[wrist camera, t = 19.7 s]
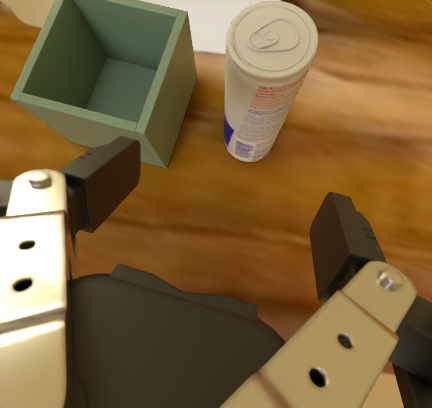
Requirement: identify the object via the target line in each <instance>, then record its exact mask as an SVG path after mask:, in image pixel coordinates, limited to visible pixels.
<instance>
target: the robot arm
mask: <svg viewBox="0 0 432 408" xmlns="http://www.w3.org/2000/svg"><path fill="white" fill-rule="evenodd" d="M140 160H141V145H140V142H139V141H138V140H135V139H131V138H127V137H123V136H119V137H118V138H116V139H115V140H113V141H112V142H110V143H109V144H104V145H101V146H97V147H94V148H93V149H91V150H89V151H88V152H86V154H83V155H81V156H80V157H79V158H77V159H75V160H74V161H72V162H70V163H69V164H67V165H66V166H64V167H62V168H61V169H59V170H58V171H55V170H48V169H40V170H33V171H28V172H26V173H23V174H21V175H19V176H18V177H16V178H15V180H14V181H8V180H0V408H362V406H363V404H364V402H365V400H366V399H367V397H368V395H369V393H370V391H371V389H372V387H373V386H374V384H375V382H376V380H377V379H378V377H379V375H380V373H381V371H382V370H383V368H384V366H385V364H386V362H387V361H388V360H389V361H391V362H392V365H393V369H394V372H395V376H396V380H397V383H398V387H399V391H400V394H401V398H402V402H403V405H404V408H432V303H431V302H429V301H427V300H425V299H423V298H421V297H419V296H417V292H416V288H415V286H414V284H413V283H412V281H411V280H410V279H409V278H408V277H407V276H406V275H405V274H404V273H403V272H401V271H400V270H399V269H397V268H395V267H394V266H392V265H390V264H387V262H386V260H385V257H384V255H383V253H382V251H381V248H380V246H379V244H378V242H377V240H376V237H375V235H374V233H373V232H372V231H373V230H372V228H371V226H370V224H369V221H368V220H367V219H366V218H365V217H364V216H363V215H362V214H361V213H360V212H358V211H356V210H355V208H354V205H353V203H352V200H351V198H350V197H349V196H345V195H341V194H338V193H334V192H329V193H328V194H327V195H326V197H325V199H324V201H323V203H322V205H321V207H320V209H319V211H318V213H317V214H316V216H315V218H314V220H313V222H312V225H311V229H310V241H311V248H312V256H313V264H314V271H315V279H316V287H317V294H318V300H319V301H322V302H325V304H324V305H323V306H322V307H321V308H320V309H319V310H318V311H317V312H316V313H315V314H314V315H313V316H312V317H311V318H310V319H309V320H308V321H307V322H306V323H305V324H304V325H303V326H302V327H301V328H300V329H299V330H298V331H297V332H296V333H295V334H294V335H293V336H292V337H291V338H290V339H289V340H288V341H287V342H285V341H284V340H283V338H282V337H281V336H280V335H279V334H278V333H277V332H276V331H275V330H274V329H273V328H271V327H270V326H269V325H268V324H266V323H265V322H264V321H262V320H260V319H259V318H257V310H258V305H255V304H252V303H248V302H245V301H242V300H238V299H235V298H232V297H228V296H225V295H218V294H203V293H188V292H183V291H181V290H179V289H177V288H176V287H174V286H172V285H170V284H169V283H167V282H165V281H164V280H162V279H160V278H158V277H157V276H155V275H153V274H152V273H148V272H145V271H142V270H138V269H135V268H132V267H128V266H125V265H122V264H118V265H117V266H116V267H115V269H114V270H113V272H112V273H111V274H94V275H87V276H83V277H79V266H78V252H77V239H76V233H77V232H78V231H79V230H83V231H86V232H90V233H93V232H94V231H95V230H96V229H97V228H98V227H99V226H100V225H101V224H102V223H103V222H104V220H105V219H106V218H107V217H108V216H109V215H110V214H111V213H112V212H113V211H114V210H115V209H116V208H117V206H118V205H119V204H120V203H121V202H122V201H123V200H124V199H125V198H126V197H127V196H128V195H129V194H130V192H131V191H132V190H133V189H134V188H135V187H136V186H137V184H138V182H139V178H140Z"/></svg>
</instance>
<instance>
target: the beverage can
mask: <svg viewBox="0 0 432 408" xmlns="http://www.w3.org/2000/svg"><path fill="white" fill-rule="evenodd" d="M226 42H227V43H226V64H225V115H224V143H225V146H226V148H227V150H228V152H229V153H230V154H231V155H232V156H233V157H235V158H236V159H238V160H241V161H245V162H253V161H257V160H259V159H261V158H263V157H265V156H266V155H267V154H268V153H269V151H270V150H271V148H272V145H273V143H274V141H275V139H276V137H277V135H278V133H279V131H280V129H281V127H282V125H283V123H284V120H285V118H286V116H287V114H288V112H289V110H290V108H291V106H292V104H293V102H294V100H295V98H296V95H297V93H298V91H299V89H300V87H301V85H302V83H303V81H304V79H305V77H306V75H307V73H308V71H309V68H310V66H311V64H312V60H313V57H314V54H315V52H316V49H317V45H318V33H317V29H316V26H315V24H314V22H313V21H312V19H311V18H310V16H309V15H308V14H307V13H306V12H305V11H303V10H302V9H300V8H299V7H297V6H295V5H293V4H290V3H287V2H282V1H263V2H259V3H256V4H253V5H250V6H249V7H247V8H245V9H244V10H242V11H241V12H240V13H239V14H238V15H237V16H236V17H235V18H234V19H233V21H232V22H231V24H230V26H229V29H228V32H227V39H226Z"/></svg>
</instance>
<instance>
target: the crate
mask: <svg viewBox="0 0 432 408" xmlns="http://www.w3.org/2000/svg"><path fill="white" fill-rule="evenodd" d="M196 80H197V74H196V67H195V60H194V53H193V46H192V40H191V32H190V25H189V18H188V12H187V11H183V10H178V9H173V8H169V7H165V6H160V5H156V4H152V3H147V2H143V1H138V0H55V1H54V3H53V6H52V8H51V10H50V12H49V14H48V16H47V19H46V21H45V23H44V25H43V27H42V29H41V31H40V34H39V36H38V38H37V40H36V42H35V44H34V47H33V49H32V51H31V53H30V55H29V57H28V60H27V62H26V64H25V66H24V68H23V70H22V73H21V75H20V77H19V79H18V81H17V83H16V86H15V88H14V90H13V92H12V94H11V96H10V99H11V100H13V101H14V102H16V103H17V104H18V105H20V106H21V107H22V108H24V109H25V110H27V111H28V112H29V113H31V114H32V115H34V116H35V117H36V118H38V119H39V120H41V121H42V122H43V123H45V124H46V125H47V126H49V127H50V128H52V129H53V130H54V131H56V132H57V133H59V134H60V135H61V136H63V137H64V138H65V139H67V140H68V141H70V142H72V143H75V144H79V145H83V146H86V147H90V148H94V147H97V146H101V145H104V144H109V143H110V142H112V141H113V140H115V139H116V138H118V137H119V136H123V137H127V138H131V139H135V140H138V141H139V142H140V145H141V160H140V161H141V162H145V163H148V164H152V165H156V166H159V167H163V168H167V166H168V164H169V161H170V158H171V155H172V152H173V149H174V146H175V143H176V140H177V137H178V134H179V131H180V128H181V125H182V122H183V119H184V116H185V113H186V110H187V107H188V104H189V101H190V98H191V95H192V92H193V89H194V86H195V83H196Z"/></svg>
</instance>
